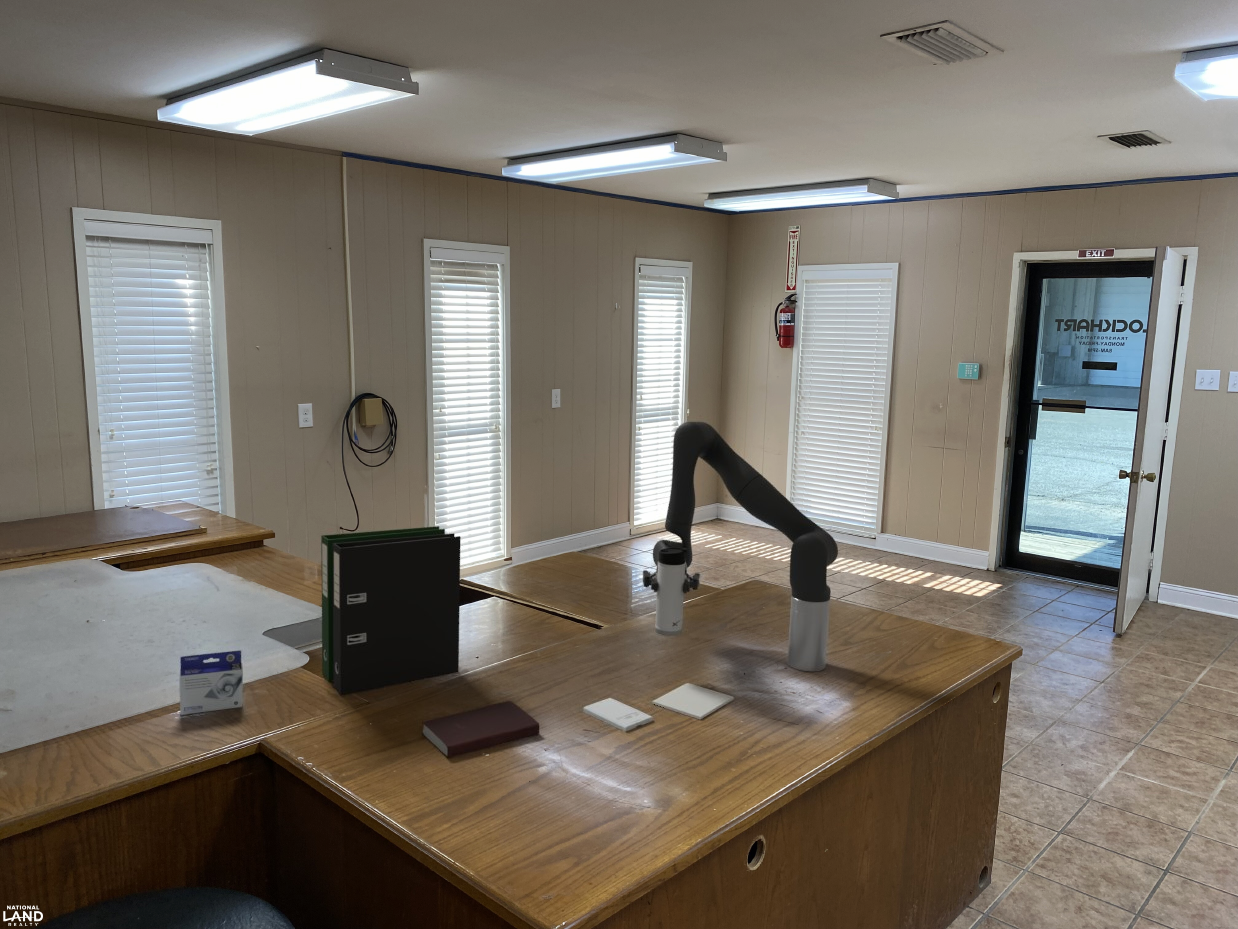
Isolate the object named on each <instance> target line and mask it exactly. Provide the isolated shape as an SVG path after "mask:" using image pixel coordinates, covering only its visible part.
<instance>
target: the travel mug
mask: <svg viewBox="0 0 1238 929" xmlns="http://www.w3.org/2000/svg"><path fill="white" fill-rule="evenodd" d="M685 552H686V553H687V552H688V551H687V548H677V547H676V548H665V549H662V550H661V551H659V559H658V576H657V592H656V600H655V601H656V602H655V604H656V605H655V626H654V631H655V633H657V634H658V635H661V636H665V637H674V636H679V635H680V634H682V633H683V621H684V620H683V616H684V615H683V614H684V599H685V597H684V596H685V595H684V580H685Z"/></svg>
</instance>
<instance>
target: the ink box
mask: <svg viewBox="0 0 1238 929" xmlns="http://www.w3.org/2000/svg"><path fill="white" fill-rule="evenodd" d="M179 659H180V662H179V663H180V664H179V665H180V670H179V707H180V708H179V709H180V716H184V715H192V714H198V713H204V712H205V713H206V712H212V711H219V710H220V711H221V710H227V709H228V710H229V709H237V708H242V707H243V687H244V686H243V684H244V682H243V680H244V679H243V677H244V673H243V672H244V669H243V668H244V667H243V666H244V665H243V662H242V650H240V649H239V650H232V651H220V652H211V653H202V654H194V655H193V654H192V655H185V656H184V655H183V656H180V658H179ZM210 659H213V660H216V661H210V662H204V661H208V660H210Z"/></svg>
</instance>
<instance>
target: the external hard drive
mask: <svg viewBox="0 0 1238 929" xmlns="http://www.w3.org/2000/svg"><path fill="white" fill-rule="evenodd" d="M582 709H583V710H582V712H583V713H585V714H587V715H588V716H590V717H593V718H595V719H597V720H600V721H601V722H604V723H606V724H608V725H610V726H612V727H615V728H616V729H618V730H621V731H623V732H628V731H630V730H633V729H636V728H638V727H639V726H643V725H645V724H649V723H651V722H653V721H654V717H653V716H651V715H650V714H647V713H645V712H643V711H641V710H639V709H636V708H634V707H632V706H630V705H628V704H625V703H623V702H621V701H619V700H616V699H614V698H613V697H608V698H606V699H603V700H600V701H597V702H594V703H591V704H589V705H586V706H583V708H582Z"/></svg>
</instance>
